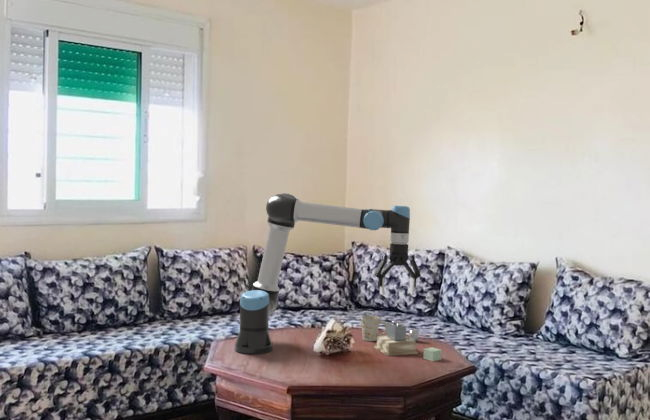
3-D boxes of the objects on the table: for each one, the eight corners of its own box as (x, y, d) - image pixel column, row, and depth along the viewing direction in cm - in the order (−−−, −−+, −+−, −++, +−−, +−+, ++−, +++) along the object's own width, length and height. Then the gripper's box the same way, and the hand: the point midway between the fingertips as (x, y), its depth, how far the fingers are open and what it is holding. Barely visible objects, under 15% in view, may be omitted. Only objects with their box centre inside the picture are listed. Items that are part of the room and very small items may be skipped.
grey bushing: (407, 340, 294) (407, 329, 294) (415, 340, 295) (415, 329, 295) (411, 342, 290) (412, 331, 290) (419, 342, 291) (420, 331, 291)
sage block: (423, 358, 265) (423, 348, 264) (431, 357, 268) (432, 347, 268) (432, 361, 261) (433, 351, 261) (441, 359, 264) (441, 349, 264)
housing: (394, 341, 271) (395, 324, 270) (386, 336, 278) (387, 320, 278) (405, 340, 272) (406, 324, 272) (397, 336, 280) (397, 320, 279)
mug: (357, 337, 296) (358, 315, 296) (383, 336, 300) (384, 314, 299) (364, 342, 288) (364, 319, 288) (390, 341, 292) (391, 318, 291)
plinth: (374, 347, 280) (374, 335, 279) (403, 345, 284) (403, 334, 284) (387, 355, 267) (388, 343, 266) (417, 353, 271) (418, 341, 271)
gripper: (375, 243, 266) (372, 296, 267) (430, 244, 274) (427, 295, 275) (368, 241, 273) (365, 292, 274) (421, 242, 281) (419, 291, 282)
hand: (396, 294), depth 274 cm, fingers open, 13 cm apart
